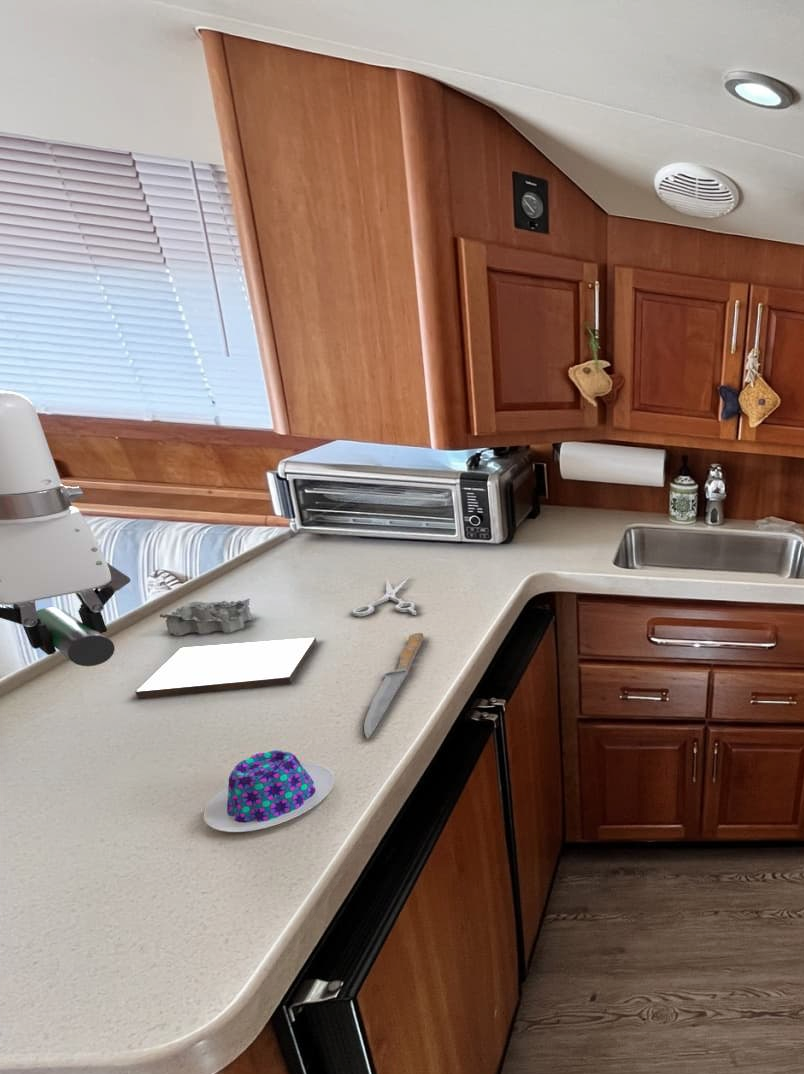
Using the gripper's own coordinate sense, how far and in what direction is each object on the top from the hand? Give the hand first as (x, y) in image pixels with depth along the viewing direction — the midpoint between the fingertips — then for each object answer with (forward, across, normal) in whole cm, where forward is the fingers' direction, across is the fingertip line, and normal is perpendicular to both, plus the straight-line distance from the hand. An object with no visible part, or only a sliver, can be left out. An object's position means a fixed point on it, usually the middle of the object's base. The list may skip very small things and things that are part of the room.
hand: (72, 643), depth 80 cm
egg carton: (+13, -21, -24) cm, 34 cm away
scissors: (+12, -46, -13) cm, 49 cm away
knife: (+12, -27, +18) cm, 35 cm away
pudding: (+12, -5, +33) cm, 35 cm away
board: (+12, -16, -4) cm, 21 cm away
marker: (+1, 0, 0) cm, 1 cm away
